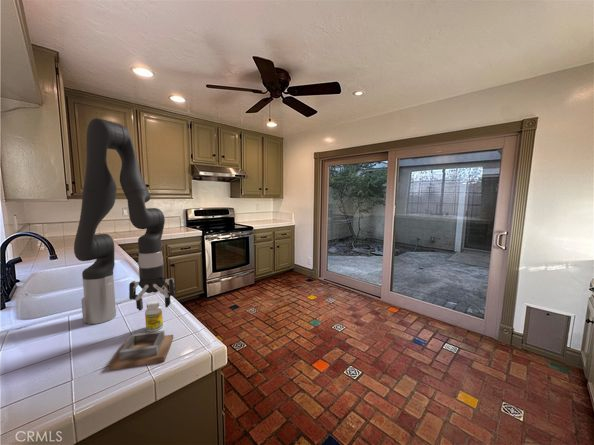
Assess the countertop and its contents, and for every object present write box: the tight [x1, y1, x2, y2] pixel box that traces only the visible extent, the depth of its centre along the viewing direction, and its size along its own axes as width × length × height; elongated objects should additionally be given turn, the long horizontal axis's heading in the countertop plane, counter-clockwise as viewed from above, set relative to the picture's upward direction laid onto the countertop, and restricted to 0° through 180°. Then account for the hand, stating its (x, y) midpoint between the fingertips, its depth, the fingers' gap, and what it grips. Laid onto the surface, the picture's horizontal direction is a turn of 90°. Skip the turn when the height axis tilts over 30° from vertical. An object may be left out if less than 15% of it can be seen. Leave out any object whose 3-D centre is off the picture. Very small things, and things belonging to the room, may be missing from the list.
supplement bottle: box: [144, 300, 164, 332], centre depth 89 cm, size 5×5×10 cm
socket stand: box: [107, 330, 174, 371], centre depth 75 cm, size 14×12×4 cm
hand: (154, 308), depth 88 cm, fingers open, 8 cm apart
